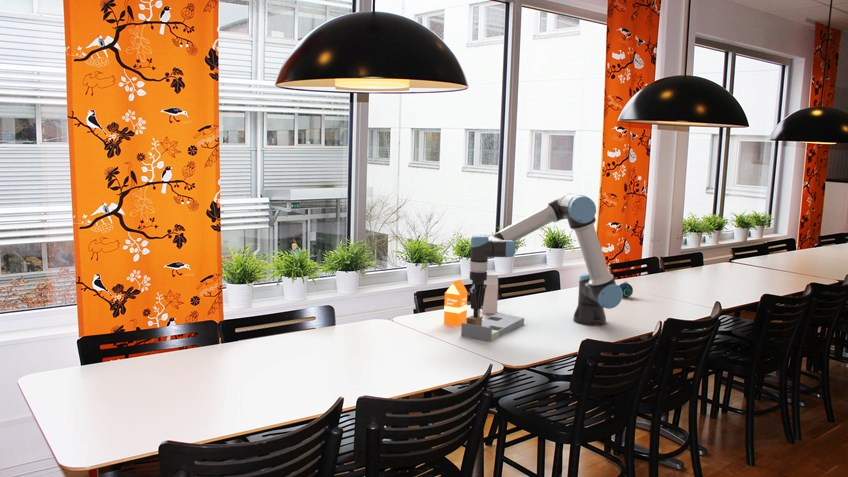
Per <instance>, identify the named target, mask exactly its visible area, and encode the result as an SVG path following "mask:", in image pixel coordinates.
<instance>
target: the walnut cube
mask: <svg viewBox="0 0 848 477" xmlns="http://www.w3.org/2000/svg"><path fill="white" fill-rule="evenodd" d="M482 320H483V317H482V316H480V317H474V316H473V315H469V316H467V318H466V322H465V323H468V324H474V325H480V326H482Z"/></svg>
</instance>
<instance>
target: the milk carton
mask: <svg viewBox="0 0 848 477" xmlns="http://www.w3.org/2000/svg"><path fill="white" fill-rule="evenodd" d="M498 276H499V275H498V274H487V280H485V281H484V284H485V285H487V287H486V290H485V297H484V303H483V309H481V313H482V314H487V315H488V314H489V315H490V314H492V315H494V314H496V313H498V299H499V298H498V297H499V296H498V295H499V277H498Z"/></svg>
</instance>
